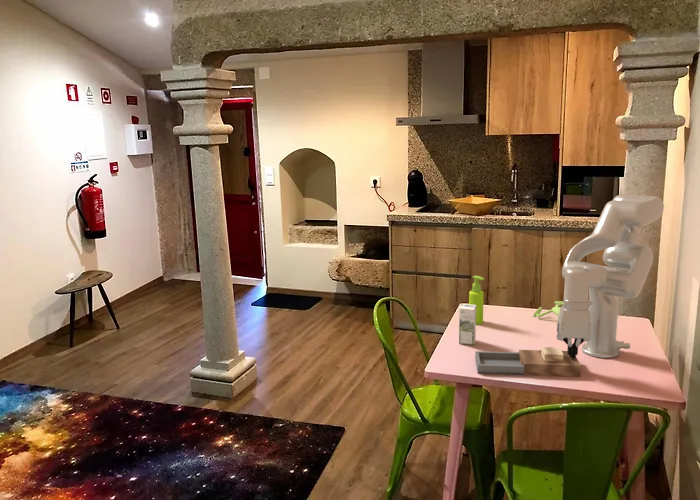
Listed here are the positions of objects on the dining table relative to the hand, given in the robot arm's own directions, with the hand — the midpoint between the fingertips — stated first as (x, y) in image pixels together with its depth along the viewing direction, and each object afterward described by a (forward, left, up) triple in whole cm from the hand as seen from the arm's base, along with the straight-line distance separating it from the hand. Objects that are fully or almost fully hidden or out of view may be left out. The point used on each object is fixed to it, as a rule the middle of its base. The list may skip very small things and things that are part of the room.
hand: (572, 356), depth 196 cm
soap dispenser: (+28, -44, -5) cm, 53 cm away
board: (+7, 0, -5) cm, 9 cm away
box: (+24, 0, -5) cm, 24 cm away
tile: (+6, 0, -1) cm, 7 cm away
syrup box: (+33, -22, -5) cm, 40 cm away
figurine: (-8, -49, -5) cm, 50 cm away
